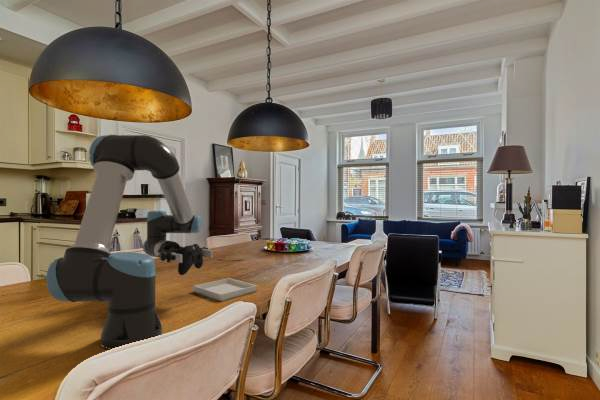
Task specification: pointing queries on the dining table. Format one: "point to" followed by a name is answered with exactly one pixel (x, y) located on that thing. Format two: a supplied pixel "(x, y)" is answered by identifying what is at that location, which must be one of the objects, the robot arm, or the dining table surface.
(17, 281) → the dining table surface
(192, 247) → the gaming controller
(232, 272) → the dining table surface
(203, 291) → the tray
